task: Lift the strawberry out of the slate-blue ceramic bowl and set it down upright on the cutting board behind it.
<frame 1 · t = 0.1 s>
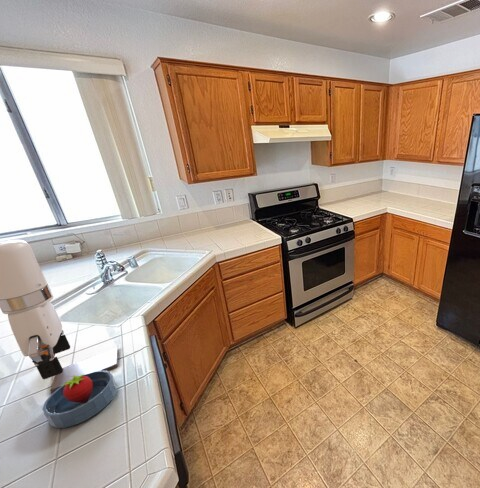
hand: (58, 362, 61), 20 cm above the countertop, tool pointing down, fingers open, 9 cm apart
basin: (86, 404, 74), on the countertop
strawberry: (85, 403, 74), resting in basin
board: (88, 369, 86), on the countertop
carrot: (52, 360, 92), on the countertop
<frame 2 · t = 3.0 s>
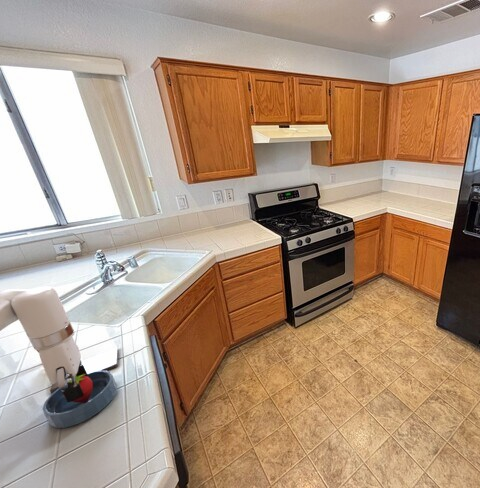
hand: (78, 388, 72), 6 cm above the countertop, tool pointing down, fingers closed on strawberry, 7 cm apart
strawberry: (85, 403, 74), resting in basin, touching gripper
everything else where it was.
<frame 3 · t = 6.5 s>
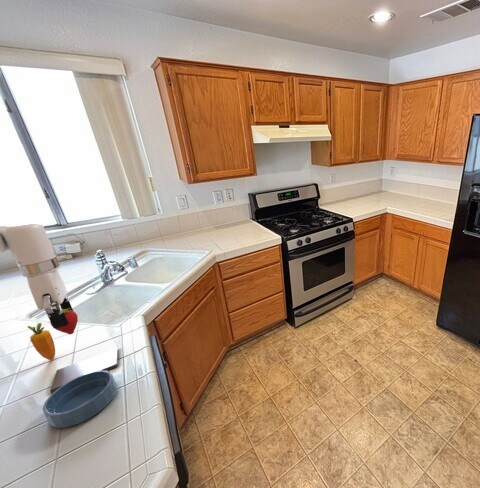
hand: (64, 319, 79), 20 cm above the countertop, tool pointing down, fingers closed on strawberry, 7 cm apart
strawberry: (71, 334, 81), point 15 cm above the countertop, touching gripper
everything else where it was.
when the fingers open (7 cm above the countertop, at t = 10.1 s): strawberry stays where it is, resting on board.
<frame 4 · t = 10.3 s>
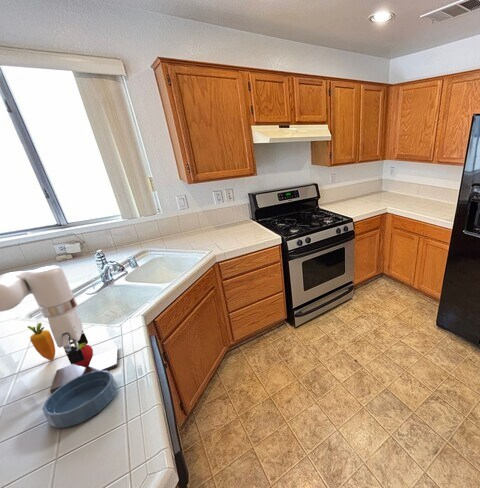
hand: (80, 353, 84), 7 cm above the countertop, tool pointing down, fingers open, 9 cm apart
strawberry: (86, 367, 86), point 1 cm above the countertop, touching board
everything else where it was.
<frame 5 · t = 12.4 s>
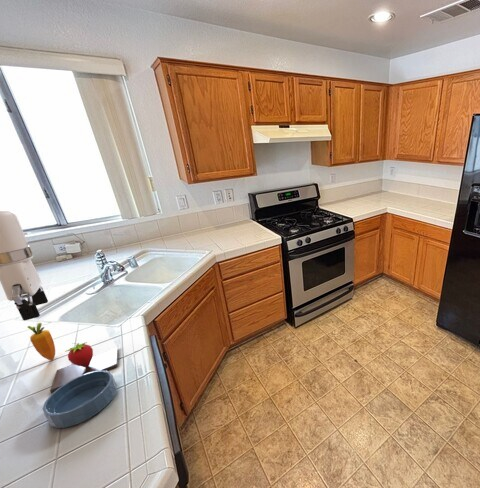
hand: (36, 310, 76), 24 cm above the countertop, tool pointing down, fingers open, 9 cm apart
nothing on the countertop moved.
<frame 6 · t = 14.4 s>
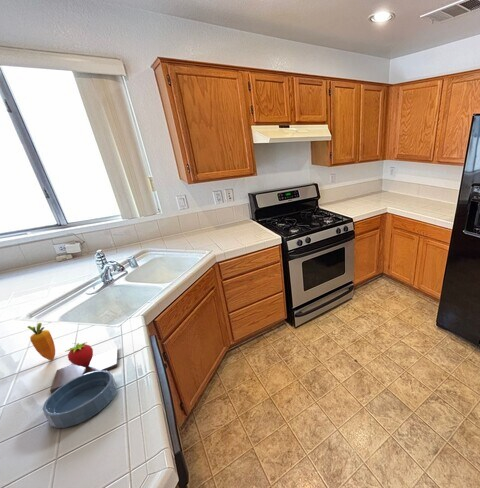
nothing on the countertop moved.
at the end: strawberry inside the target area on the board (0.0 cm from its centre), point 1.0 cm above the board's base; strawberry tilted 0°; the gripper is holding nothing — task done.
